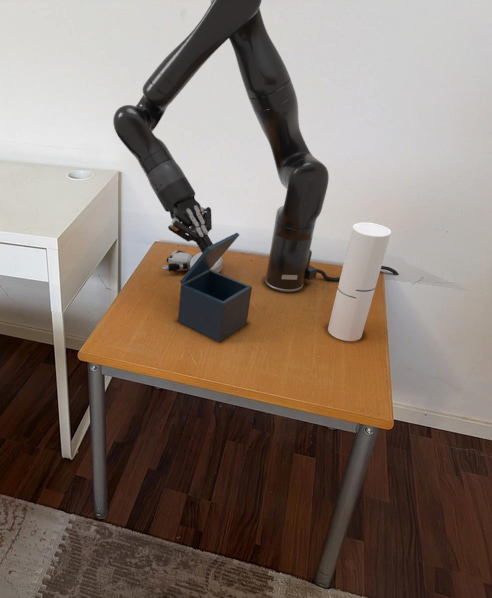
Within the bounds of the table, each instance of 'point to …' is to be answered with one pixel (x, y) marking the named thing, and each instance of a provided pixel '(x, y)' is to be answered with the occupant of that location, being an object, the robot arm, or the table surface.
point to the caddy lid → (209, 257)
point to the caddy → (214, 304)
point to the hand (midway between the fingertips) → (210, 252)
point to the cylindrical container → (358, 280)
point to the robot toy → (187, 262)
